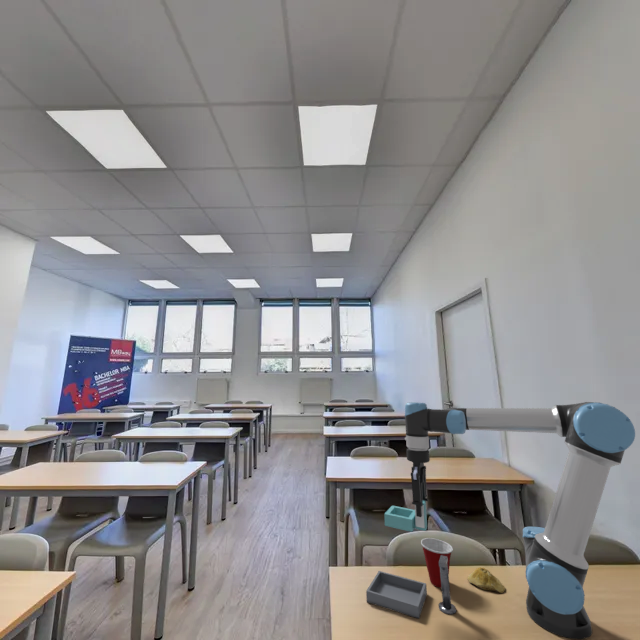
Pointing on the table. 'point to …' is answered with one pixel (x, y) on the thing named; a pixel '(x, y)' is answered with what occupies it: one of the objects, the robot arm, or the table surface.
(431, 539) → the plastic cup
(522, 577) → the table surface
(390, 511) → the tabbed collar
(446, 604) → the t stake
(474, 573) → the fossil
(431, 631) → the table surface
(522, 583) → the table surface
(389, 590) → the tray
